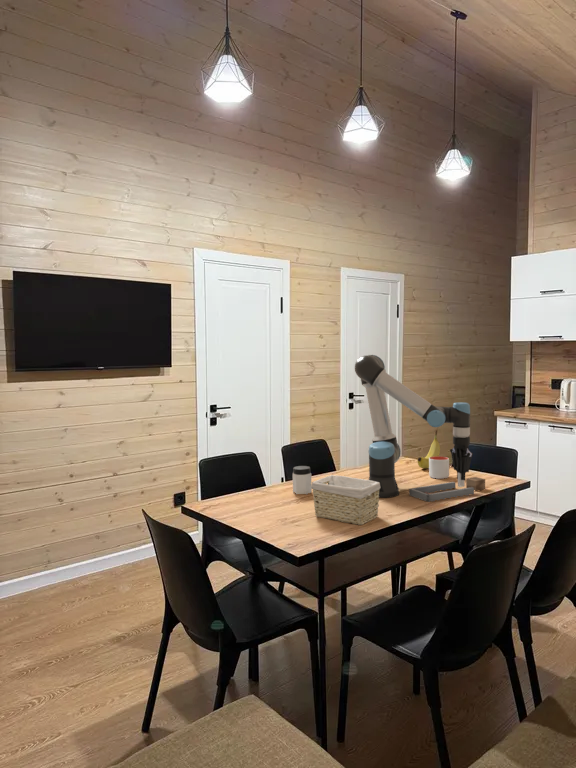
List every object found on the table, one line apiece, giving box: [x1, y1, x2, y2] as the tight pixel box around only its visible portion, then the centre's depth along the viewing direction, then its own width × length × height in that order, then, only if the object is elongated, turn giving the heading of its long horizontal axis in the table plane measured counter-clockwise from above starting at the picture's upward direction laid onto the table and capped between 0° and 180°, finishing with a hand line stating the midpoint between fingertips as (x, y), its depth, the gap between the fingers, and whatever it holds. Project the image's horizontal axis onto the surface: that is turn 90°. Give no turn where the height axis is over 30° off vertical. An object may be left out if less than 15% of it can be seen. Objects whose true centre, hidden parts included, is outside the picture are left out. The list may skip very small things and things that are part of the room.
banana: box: [417, 429, 441, 469], centre depth 317 cm, size 23×6×20 cm, turn 139°
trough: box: [408, 481, 475, 503], centre depth 259 cm, size 26×13×3 cm, turn 115°
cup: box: [428, 455, 450, 480], centre depth 293 cm, size 10×10×10 cm
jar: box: [292, 465, 313, 495], centre depth 269 cm, size 9×8×12 cm
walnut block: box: [465, 476, 486, 492], centre depth 267 cm, size 6×6×5 cm
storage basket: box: [311, 474, 381, 526], centre depth 228 cm, size 24×16×15 cm
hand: (461, 486), depth 264 cm, fingers closed
